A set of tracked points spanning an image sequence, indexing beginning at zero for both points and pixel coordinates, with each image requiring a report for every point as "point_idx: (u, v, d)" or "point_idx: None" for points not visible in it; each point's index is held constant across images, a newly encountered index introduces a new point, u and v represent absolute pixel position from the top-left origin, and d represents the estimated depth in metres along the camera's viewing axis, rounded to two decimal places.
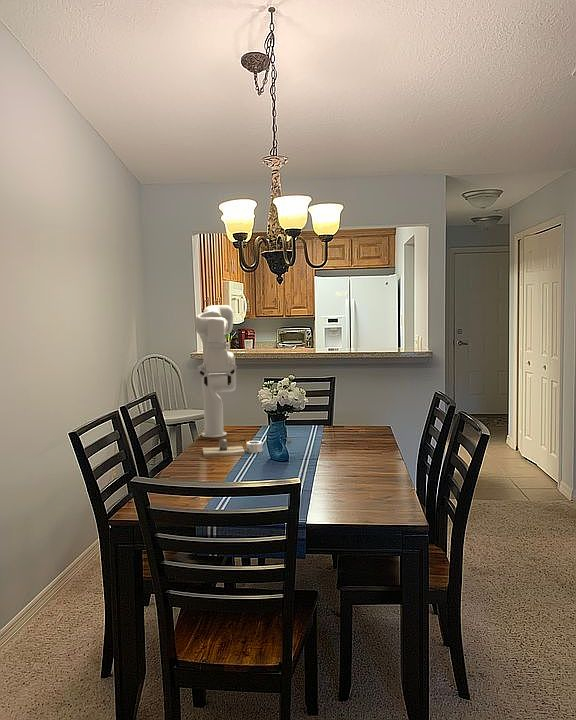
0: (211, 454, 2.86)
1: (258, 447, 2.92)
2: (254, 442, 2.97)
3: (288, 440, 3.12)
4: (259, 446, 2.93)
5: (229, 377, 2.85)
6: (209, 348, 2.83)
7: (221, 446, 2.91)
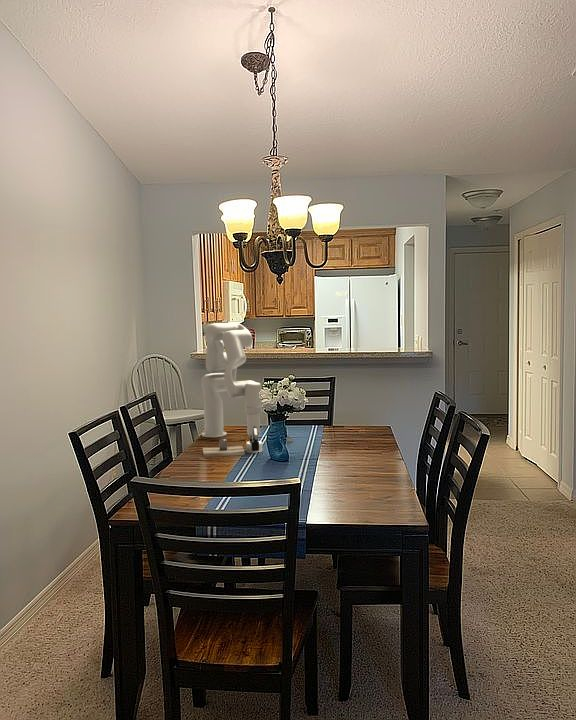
0: (211, 454, 2.86)
1: None
2: None
3: (290, 440, 3.13)
4: (259, 446, 2.93)
5: None
6: (258, 412, 2.91)
7: (221, 446, 2.91)
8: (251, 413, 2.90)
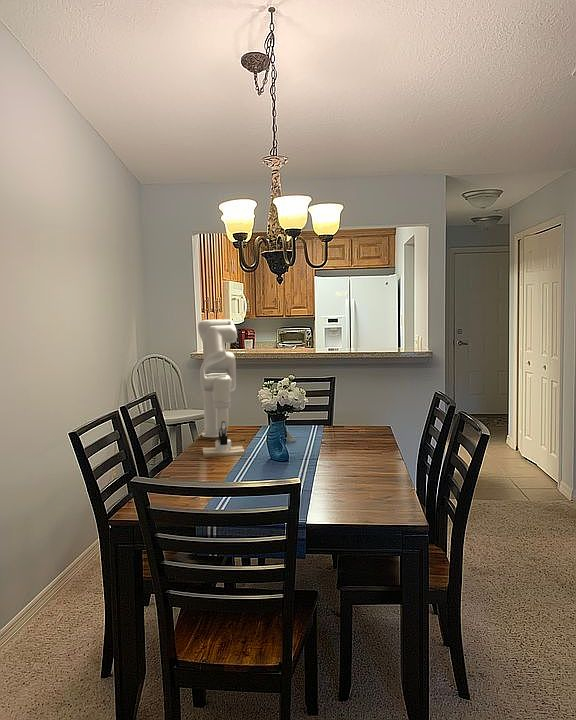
0: (211, 454, 2.86)
1: (227, 445, 2.90)
2: None
3: (292, 440, 3.13)
4: (228, 444, 2.90)
5: None
6: (226, 407, 2.89)
7: None
8: (219, 408, 2.88)
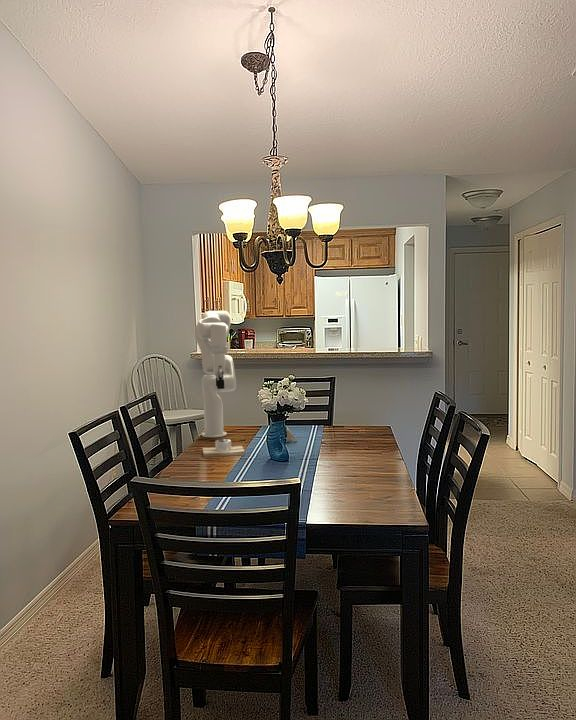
0: (211, 454, 2.86)
1: (227, 445, 2.90)
2: None
3: (294, 440, 3.13)
4: (228, 444, 2.90)
5: None
6: (223, 352, 2.97)
7: None
8: (216, 353, 2.97)
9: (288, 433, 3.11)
